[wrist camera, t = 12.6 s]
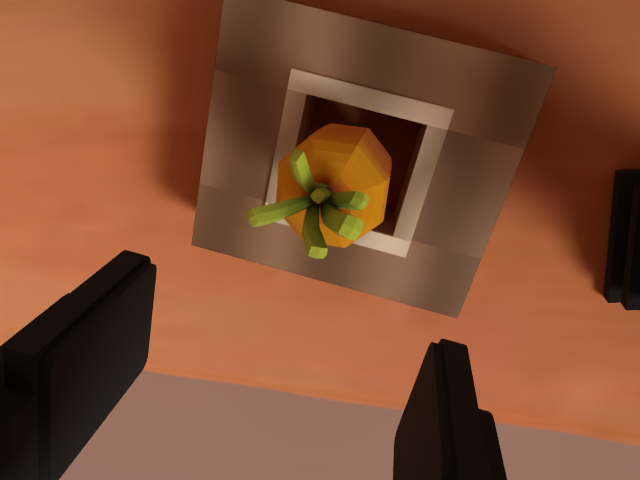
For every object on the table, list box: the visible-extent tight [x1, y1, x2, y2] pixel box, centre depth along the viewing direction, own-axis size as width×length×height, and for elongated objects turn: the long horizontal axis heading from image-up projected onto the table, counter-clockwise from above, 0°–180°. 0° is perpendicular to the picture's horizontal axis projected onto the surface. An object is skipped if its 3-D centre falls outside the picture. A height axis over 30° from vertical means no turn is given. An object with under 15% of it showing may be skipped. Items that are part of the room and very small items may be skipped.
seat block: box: [192, 0, 557, 318], centre depth 29 cm, size 16×14×4 cm
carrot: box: [245, 123, 392, 259], centre depth 24 cm, size 5×5×15 cm
